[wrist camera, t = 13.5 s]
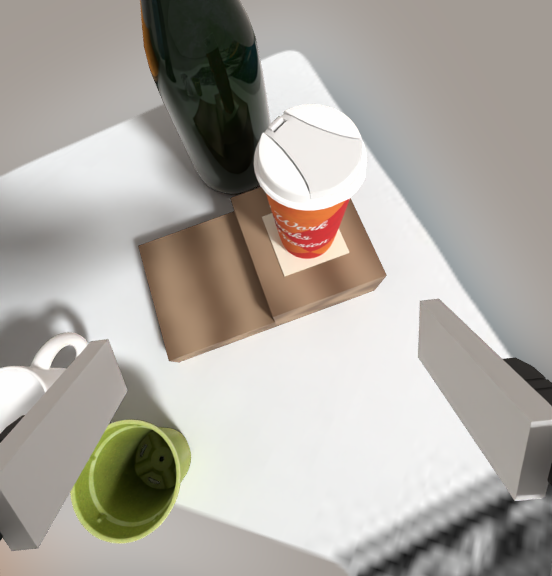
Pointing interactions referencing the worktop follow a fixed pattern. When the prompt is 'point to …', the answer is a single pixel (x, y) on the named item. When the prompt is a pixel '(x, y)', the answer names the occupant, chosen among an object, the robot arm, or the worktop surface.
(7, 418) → the mug
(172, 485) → the plant pot
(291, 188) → the paper cup
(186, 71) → the dark green wine bottle
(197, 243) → the step riser
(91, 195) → the worktop surface
